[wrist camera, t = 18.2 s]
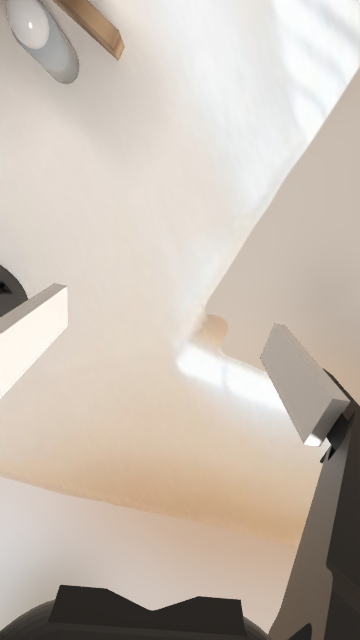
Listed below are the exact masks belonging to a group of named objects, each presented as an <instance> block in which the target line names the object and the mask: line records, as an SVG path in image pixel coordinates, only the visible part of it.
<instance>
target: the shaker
mask: <svg viewBox="0 0 360 640" xmlns="http://www.w3.org/2000/svg"><path fill="white" fill-rule="evenodd" d="M6 12H7V18H8V21H9V24H10V26H11V29H12V32H13V34H14V36H15V38H16V40H17V41H18V42H19V44H20V45H21V46H22V47H23V48H24V49H25V50H26V51H27V52H28V53H29V54H30V55H31V56H32V57H33V58H34V59H35V60H36V61H37V62H39V63H40V64H41V65H42V66H43V67H44V68H45V69H46V70H47V71H48V72H49V73H50V74H51V75H52V76H53V77H54V78H55V79H56V80H57V81H59V82H60V83H63V84H69V83H71V82H73V81H74V80H75V79H76V77H77V75H78V72H79V60H78V56H77V54H76V52H75V50H74V48H73V47H72V45H71V44H70V42H69V41H68V40H67V38H66V37H65V35H64V34H63V32H62V31H61V30H60V28H59V27H58V25H57V24H56V22H55V21H54V19H53V18H52V17H51V15H50V14H49V12H48V11H47V9H46V8H45V6H44V5H43V4H42V2H41V1H40V0H7V5H6Z"/></svg>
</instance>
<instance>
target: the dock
mask: <svg viewBox="0 0 360 640" xmlns="http://www.w3.org/2000/svg"><path fill="white" fill-rule="evenodd" d="M53 1H54V2H55V3H56V4H57V5H58V6H60V7H61V8H62V9H63V10H64V11H65V12H66V13H67V14H68V15H69V16H70V17H71V18H73V19H74V20H75V21H76V22H77V23H78V24H79V25H80V26H81V27H82V28H83V29H84V30H86V31H87V32H88V33H89V34H90V35H91V36H92V37H93V38H94V39H95V40H96V41H98V42H99V43H100V44H101V45H102V46H103V47H104V48H105V49H106V50H107V51H108V52H109V53H111V54H112V55H113V56H114V57H115V58H116V59H117V60H119V58H120V56H121V54H122V51H123V49H124V44H123V41H122V38H121V36H120V33H119V30H117V29H116V28H115V27H114V26H113V25H112V24H111V23H110V22H109V21H108V20H107V19H106V18H105V17H104V16H103V15H102V14H101V13H100V12H99V11H98V10H97V9H96V8H94V7H93V6H92V5H91V4H90V3H89V2H88V1H87V0H53Z"/></svg>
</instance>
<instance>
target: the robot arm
mask: <svg viewBox="0 0 360 640" xmlns="http://www.w3.org/2000/svg"><path fill="white" fill-rule="evenodd" d="M67 326H68V306H67V286H65V285H60V284H53V285H51V286H50V287H48V288H46V289H45V290H43V291H42V292H40V293H38V294H37V295H35V296H34V297H32V298H31V299H29V300H28V298H27V295H26V293H25V291H24V289H23V288H22V286H21V285H20V283H19V282H18V281H17V280H16V279H15V278H14V277H13V276H12V275H11V274H10V273H9V272H8V271H6V270H5V269H4V268H2V267H1V266H0V398H1V397H2V396H3V395H4V394H5V393H6V392H7V391H8V390H9V389H10V388H11V386H12V385H13V384H14V383H15V382H16V381H17V380H18V379H19V378H20V377H21V376H22V375H23V374H24V372H25V371H26V370H27V369H28V368H29V367H30V366H31V365H32V364H33V363H34V362H35V361H36V359H37V358H38V357H39V356H40V355H41V354H42V353H43V352H44V351H45V350H46V349H47V348H48V347H49V345H50V344H51V343H52V342H53V341H54V340H55V339H56V338H57V337H58V336H59V335H60V334H61V333H62V331H63V330H64V329H65V328H66V327H67ZM260 359H261V361H262V363H263V365H264V367H265V369H266V371H267V373H268V375H269V377H270V379H271V381H272V383H273V385H274V387H275V389H276V391H277V393H278V394H279V396H280V398H281V400H282V402H283V404H284V406H285V408H286V410H287V412H288V414H289V416H290V418H291V420H292V422H293V424H294V426H295V428H296V430H297V432H298V434H299V436H300V438H301V440H302V441H303V443H304V444H305V445H313V446H321V444H322V443H323V441H324V440H325V438H326V437H327V439H328V440H329V442H330V443H331V446H330V447H329V449H328V450H327V452H326V453H325V454H324V456H323V457H322V459H321V460H320V462H321V463H323V462H324V463H323V467H322V470H321V473H320V477H319V480H318V483H317V487H316V490H315V494H314V497H313V500H312V504H311V507H310V511H309V514H308V517H307V521H306V524H305V527H304V531H303V534H302V538H301V541H300V544H299V548H298V551H297V555H296V558H295V561H294V565H293V568H292V571H291V575H290V578H289V582H288V585H287V588H286V592H285V595H284V599H283V602H282V605H281V608H280V611H279V613H278V616H277V618H276V620H275V621H274V623H273V625H272V627H271V629H270V631H269V634H268V635H267V634H266V633H265V632H264V631H263V630H262V629H261V628H259V627H258V626H257V625H256V624H254V623H253V622H251V621H250V620H248V619H247V618H245V617H244V616H243V614H242V607H241V600H236V599H224V598H223V599H222V598H212V597H200V596H198V597H195V598H192V599H189V600H186V601H183V602H180V603H177V604H174V605H171V606H167V607H165V608H162V609H159V610H154V611H151V610H148V609H146V608H144V607H142V606H140V605H138V604H136V603H134V602H132V601H129V600H128V599H126V598H124V597H122V596H120V595H118V594H116V593H114V592H112V591H110V590H108V589H104V588H92V587H91V588H90V587H80V586H68V585H60V587H59V590H58V593H57V596H56V599H55V600H52V601H49V602H46V603H44V604H41V605H39V606H37V607H35V608H33V609H31V610H30V611H28V612H26V613H24V614H23V615H21V616H19V617H18V618H17V619H15V620H14V621H13V622H12V623H10V624H9V625H7V626H6V627H5V628H4V629H2V630H1V631H0V640H360V406H359V405H358V404H357V403H356V402H355V401H354V399H353V398H352V397H351V396H350V395H349V394H348V392H347V391H346V390H344V388H343V387H342V386H341V385H340V384H339V383H338V381H337V380H336V379H335V378H334V377H333V376H332V375H331V374H330V373H329V372H327V371H326V370H325V369H323V368H321V367H320V365H319V364H318V363H317V362H316V361H315V360H314V358H313V357H312V356H311V355H310V354H309V353H308V351H307V350H306V349H305V348H304V347H303V345H302V344H301V343H300V342H299V341H298V340H297V338H296V337H295V336H294V335H293V334H292V333H291V331H290V330H289V329H288V328H287V327H286V326H285V325H280V324H274V325H273V328H272V330H271V333H270V335H269V337H268V340H267V342H266V345H265V347H264V350H263V352H262V354H261V357H260Z"/></svg>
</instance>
